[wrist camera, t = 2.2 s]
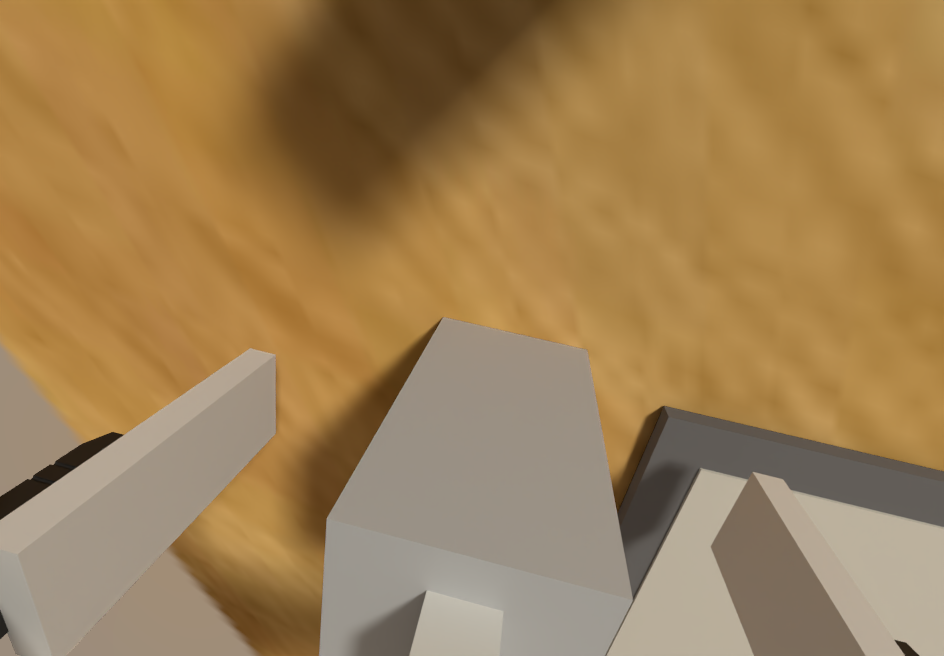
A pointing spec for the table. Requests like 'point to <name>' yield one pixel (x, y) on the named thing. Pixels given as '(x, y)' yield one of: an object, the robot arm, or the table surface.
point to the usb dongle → (480, 511)
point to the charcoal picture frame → (824, 500)
